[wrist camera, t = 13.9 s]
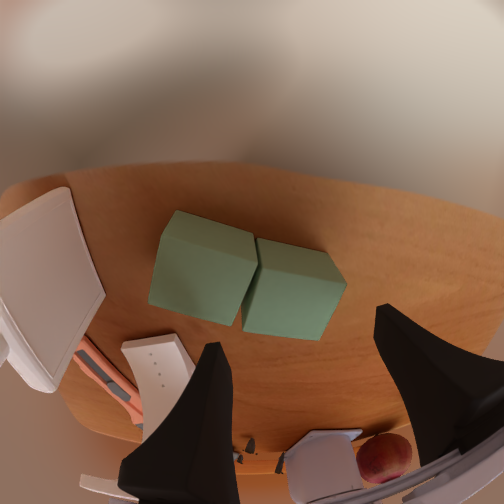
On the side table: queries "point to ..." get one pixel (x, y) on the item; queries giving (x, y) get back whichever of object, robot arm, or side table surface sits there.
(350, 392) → the side table surface
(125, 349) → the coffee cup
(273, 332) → the sage green cube
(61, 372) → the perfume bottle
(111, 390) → the utility knife
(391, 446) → the fruit
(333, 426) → the side table surface
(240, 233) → the green block
